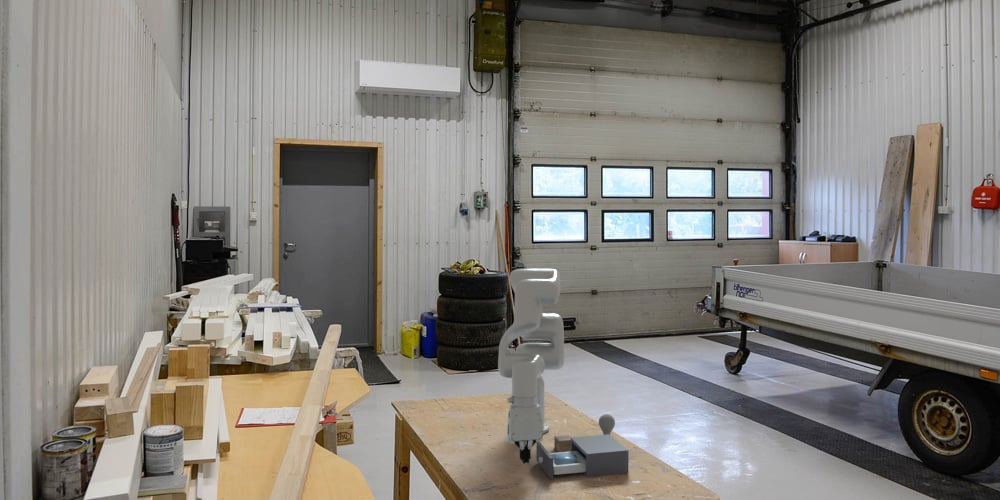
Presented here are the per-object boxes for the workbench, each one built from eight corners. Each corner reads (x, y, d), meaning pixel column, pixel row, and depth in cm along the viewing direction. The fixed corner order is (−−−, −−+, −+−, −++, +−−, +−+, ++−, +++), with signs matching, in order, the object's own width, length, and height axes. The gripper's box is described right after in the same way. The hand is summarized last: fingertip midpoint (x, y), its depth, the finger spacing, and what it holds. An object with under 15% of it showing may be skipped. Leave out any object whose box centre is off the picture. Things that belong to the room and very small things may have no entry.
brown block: (554, 447, 214) (554, 435, 214) (568, 446, 215) (568, 434, 215) (559, 453, 210) (558, 440, 209) (573, 451, 211) (573, 439, 210)
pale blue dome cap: (549, 461, 197) (549, 455, 197) (566, 456, 201) (566, 451, 201) (564, 468, 191) (564, 462, 191) (581, 463, 195) (581, 457, 195)
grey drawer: (533, 461, 201) (533, 442, 201) (575, 457, 204) (575, 438, 204) (546, 479, 187) (546, 458, 186) (591, 474, 190) (591, 454, 189)
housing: (570, 459, 204) (570, 437, 204) (609, 455, 207) (609, 434, 206) (587, 477, 189) (587, 453, 189) (628, 473, 192) (628, 450, 192)
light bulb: (602, 447, 215) (602, 417, 214) (596, 441, 220) (596, 412, 220) (617, 445, 216) (617, 415, 216) (610, 440, 222) (610, 411, 221)
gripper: (502, 406, 187) (503, 468, 188) (552, 402, 190) (552, 463, 191) (497, 399, 194) (498, 459, 195) (545, 395, 197) (545, 455, 198)
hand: (525, 461), depth 193 cm, fingers closed
